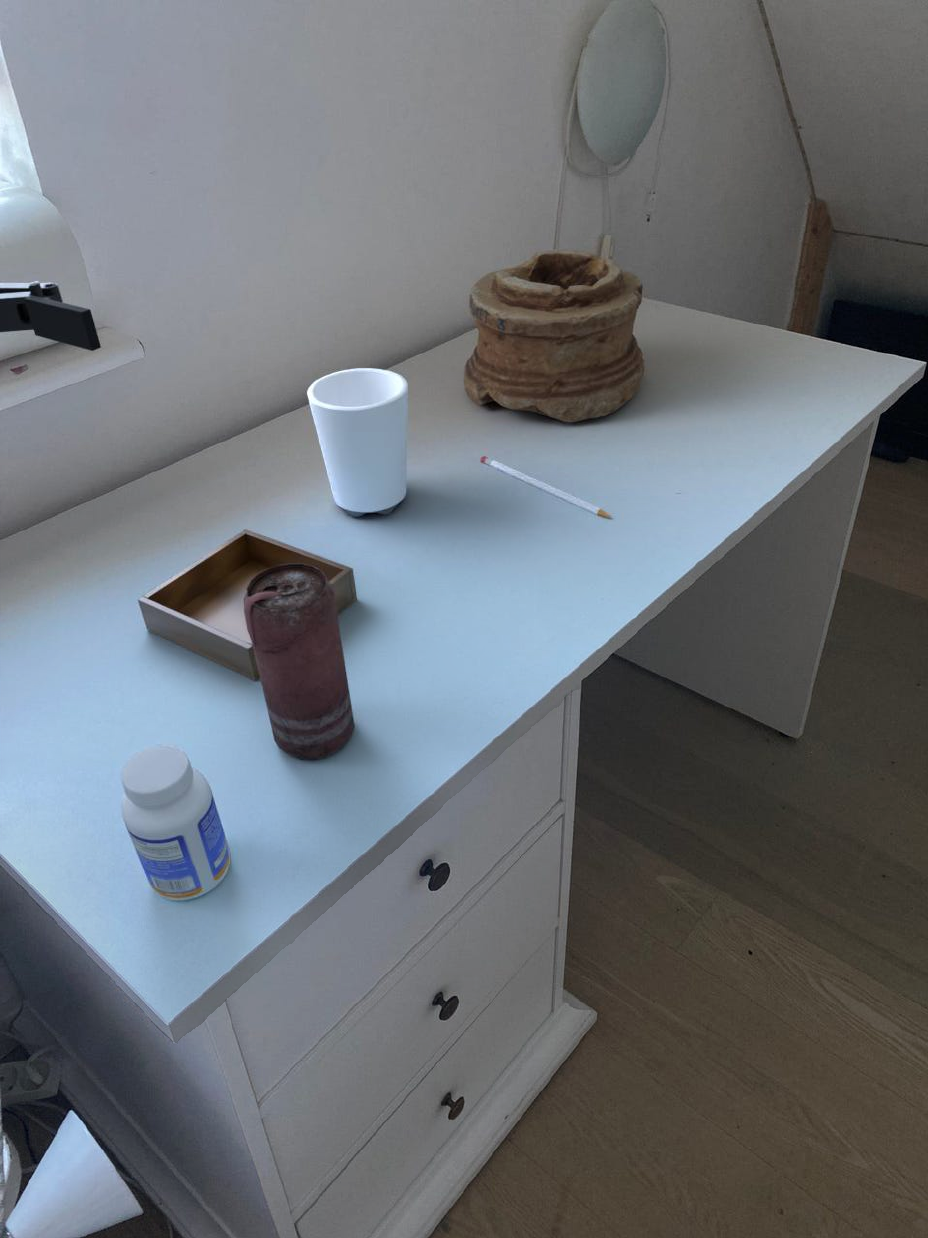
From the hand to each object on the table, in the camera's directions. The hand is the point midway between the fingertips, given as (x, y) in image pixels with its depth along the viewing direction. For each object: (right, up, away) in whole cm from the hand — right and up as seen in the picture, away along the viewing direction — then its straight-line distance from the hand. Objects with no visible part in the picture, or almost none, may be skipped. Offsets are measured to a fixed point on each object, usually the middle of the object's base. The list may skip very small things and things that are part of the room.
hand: (6, 364), depth 61 cm
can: (+18, -25, +11) cm, 33 cm away
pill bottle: (+12, -33, +1) cm, 35 cm away
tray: (+11, -16, +23) cm, 30 cm away
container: (+41, +13, +59) cm, 73 cm away
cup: (+20, -4, +39) cm, 44 cm away
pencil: (+38, -3, +39) cm, 55 cm away
